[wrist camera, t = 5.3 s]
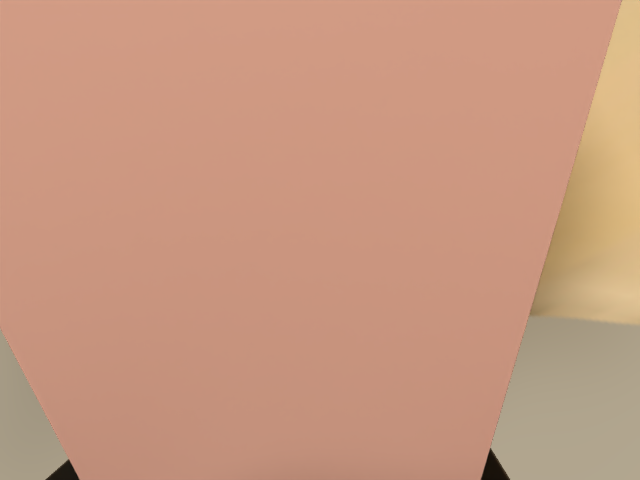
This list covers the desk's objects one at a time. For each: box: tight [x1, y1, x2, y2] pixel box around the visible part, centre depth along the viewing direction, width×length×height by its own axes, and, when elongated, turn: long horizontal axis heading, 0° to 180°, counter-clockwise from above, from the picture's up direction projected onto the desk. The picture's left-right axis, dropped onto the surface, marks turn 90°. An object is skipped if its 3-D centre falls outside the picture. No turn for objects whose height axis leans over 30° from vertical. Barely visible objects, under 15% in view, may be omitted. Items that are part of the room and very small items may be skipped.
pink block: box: [0, 0, 622, 480], centre depth 6 cm, size 5×13×4 cm, turn 1°
